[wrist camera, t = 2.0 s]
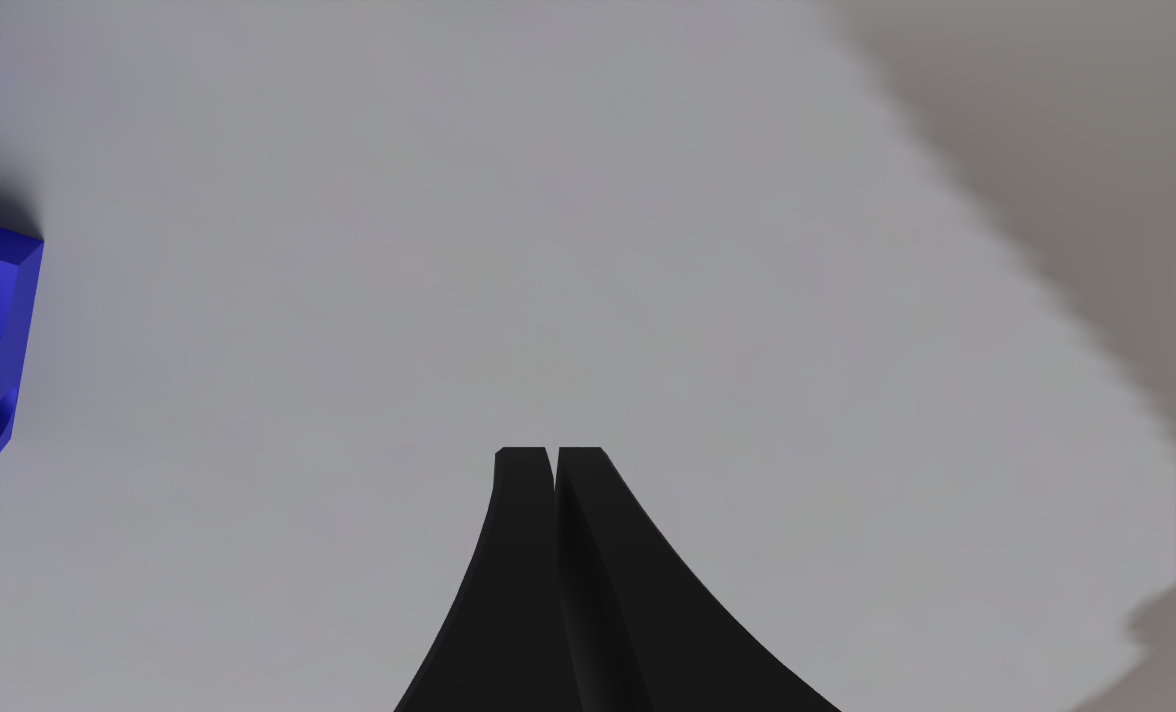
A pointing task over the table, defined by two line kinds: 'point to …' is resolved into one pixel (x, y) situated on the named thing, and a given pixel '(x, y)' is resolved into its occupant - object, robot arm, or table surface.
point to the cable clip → (15, 316)
